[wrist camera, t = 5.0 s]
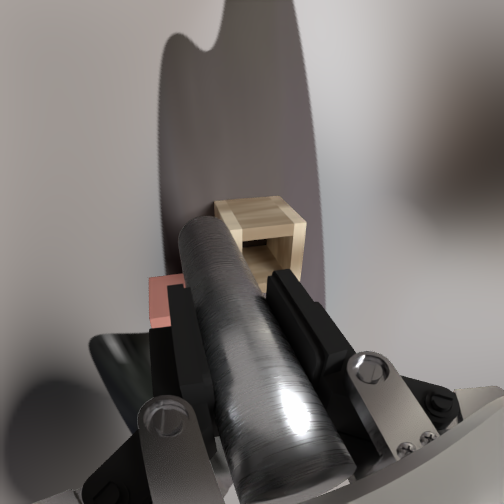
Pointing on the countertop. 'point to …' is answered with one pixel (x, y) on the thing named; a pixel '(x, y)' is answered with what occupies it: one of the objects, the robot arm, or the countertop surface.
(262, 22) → the countertop surface
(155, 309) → the red block small bore
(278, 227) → the beech block wide bore
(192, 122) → the countertop surface
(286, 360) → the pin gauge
